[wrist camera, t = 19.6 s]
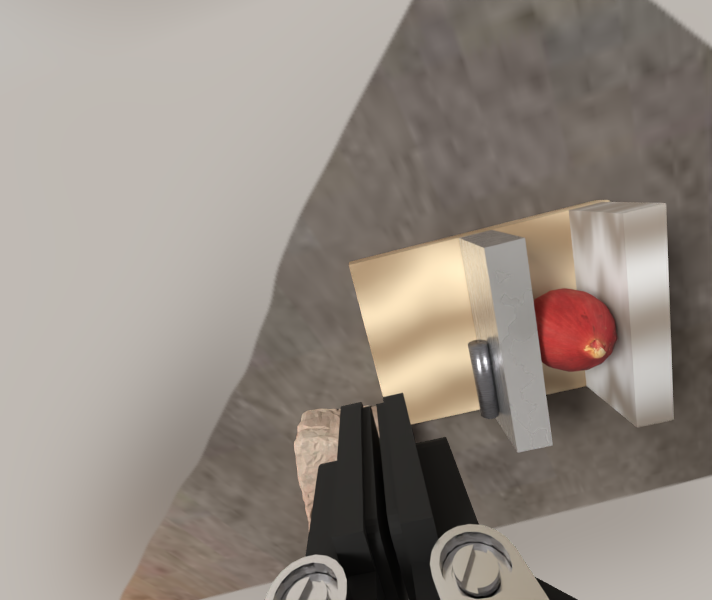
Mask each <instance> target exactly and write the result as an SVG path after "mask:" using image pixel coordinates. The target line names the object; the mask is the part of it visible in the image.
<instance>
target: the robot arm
mask: <svg viewBox="0 0 712 600" xmlns="http://www.w3.org/2000/svg"><path fill="white" fill-rule="evenodd" d="M383 401H384V403H380V404H376V406H377V417H378V427H379V434H378V431H377V427H376V423H375V420H374V416H373V412H372V409H371V406H367V407H363V404H362V402H359V403H355V404H350V405H346V406H342V407H341V410H340V424H339V437H338V451H337V461H332V462H328V463H323V464H320V465H319V467H318V472H317V479H316V486H315V493H314V501H313V508H312V515H311V522H310V529H309V536H308V543H307V550H306V557H303V558H301V559H299V560H297V561H295V562H293V563H291V564H290V565H289V566H288V567H287V568H285V569H284V570H283V571H282V572H281V573H280V574H279V575H278V576H277V578H276V579H275V580H274V581H273V583H272V584H271V586H270V589H269V591H268V593H267V595H266V597H265V599H264V600H577V599H575V598H573V597H572V596H570V595H568V594H566V593H564V592H562V591H560V590H558V589H557V588H555V587H553V586H551V585H549V584H547V583H545V582H543V581H542V580H540V579H538V578H536V577H534V575H533V574H532V572H531V570H530V569H529V567H528V566H527V564H526V563H525V561H524V560H523V558H522V557H521V555H520V553H519V552H518V550H517V549H516V547H515V546H514V545H513V544H512V543H511V542H510V540H509V539H508V538H507V537H506V536H504V535H503V534H501V533H500V532H498V531H497V530H495V529H492V528H489V527H487V526H484V525H479V524H478V521H477V518H476V516H475V513H474V510H473V508H472V505H471V502H470V500H469V497H468V494H467V492H466V489H465V486H464V484H463V481H462V478H461V476H460V473H459V470H458V468H457V465H456V462H455V460H454V457H453V454H452V452H451V449H450V446H449V444H448V441H447V439H446V437H443V438H439V439H434V440H430V441H425V442H420V443H415V439H414V435H413V431H412V427H411V423H410V419H409V415H408V411H407V407H406V402H405V398H404V394H403V393H399V394H394V395H390V396H386V397H383ZM379 437H380V438H379Z"/></svg>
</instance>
